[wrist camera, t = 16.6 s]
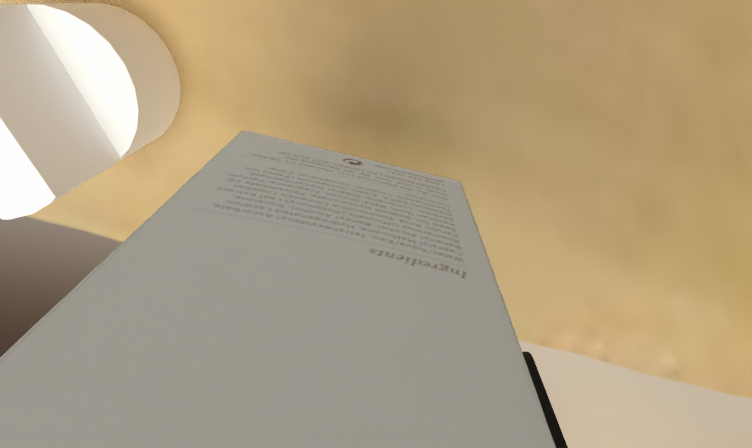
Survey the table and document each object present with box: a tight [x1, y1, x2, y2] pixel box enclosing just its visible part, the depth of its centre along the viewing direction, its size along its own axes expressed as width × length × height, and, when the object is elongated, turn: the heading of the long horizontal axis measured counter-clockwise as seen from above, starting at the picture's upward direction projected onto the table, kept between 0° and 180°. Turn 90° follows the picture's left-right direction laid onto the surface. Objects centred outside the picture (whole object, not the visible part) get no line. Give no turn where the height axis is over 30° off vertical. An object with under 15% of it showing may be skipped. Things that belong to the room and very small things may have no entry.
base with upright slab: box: [0, 3, 181, 219], centre depth 26 cm, size 9×9×12 cm
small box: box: [0, 131, 556, 448], centre depth 9 cm, size 8×6×10 cm
